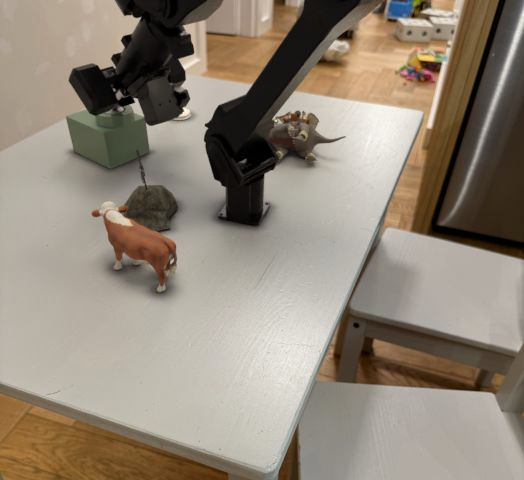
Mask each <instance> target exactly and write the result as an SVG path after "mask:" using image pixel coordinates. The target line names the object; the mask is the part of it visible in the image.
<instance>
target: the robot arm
mask: <svg viewBox="0 0 524 480" xmlns="http://www.w3.org/2000/svg"><path fill="white" fill-rule="evenodd" d="M384 1H385V0H303V5H302V11H301V13H300V14H299V17H298V18H297V19H296V21H295V22H294V24H293V25H292V27H291V28H290V30H289V31H288V32H287V34H286V36H285V37H284V38H283V40H282V41H281V43H280V44H279V46H278V47H277V48H276V50H275V52H274V53H273V54H272V56H271V57H270V58H269V60H268V61H267V63H266V65H265V66H264V67H263V68H262V70H261V72H260V73H259V74H258V76H257V77H256V79H255V80H254V81H253V84H252V85H251V86H250V88H249V89H248V90H247V92H246V93H245V94H243V95H240V96H238V97H236V98H232V99H230V100H227V101H225V102H222V103H220V104H218V105H217V107H216V108H215V110H214V112H213V115H212V117H211V119H210V120H209V121H208V122H206V123H204V127H205V128H207V129H206V130H205V132H204V135H203V142H204V144H205V145H204V148H205V153H206V156H207V159H208V163H209V167H210V170H211V173H212V177H213V179H214V180H215V181H216V182H219V184H220V185H221V186H222V187H223V188H225V204H224V206H223V207H222V208H221V209H220V211H219V212H218V213H217V217H218V218H219V219H220V220H226V221H230V222H234V223H240V224H246V225H250V226H255V227H257V226H259V225H260V224H261V223H262V220H263V219H264V217H265V216H266V215H267V212H268V211H269V209H270V208H271V203H270V202H267V201H264V200H265V199H264V197H265V195H264V194H265V174H267V173H269V172H271V171H274V170H275V169H276V167H277V166H278V165H277V164H278V162H279V160H280V159H279V158H278V156H277V154H276V152H277V151H276V150H275V148H274V146H272V145H271V144H270V142H269V140H268V139H267V138H268V136H269V134H270V131H271V122H272V120H274V118H275V116H276V115H277V114H278V112H279V111H280V110H281V109H282V107H283V106H284V105H285V104H286V103H287V101H288V100H289V99H290V98H291V96H292V95H293V94H294V92H295V91H296V90H297V89H298V88H299V86H300V85H301V84H302V82H303V81H304V80H305V79H306V77H307V76H308V75H309V74H310V72H311V71H312V70H313V69H314V67H315V66H316V65H317V64H318V63H319V62H320V60H321V58H322V57H323V55H325V53H326V52H327V51H328V50H329V49H330V47H331V46H332V45H333V43H335V41H336V40H337V39H338V38H339V37H340V36H341V35H342V34H344V33H345V32H346V31H348V30H349V29H351V28H352V27H353V26H354V25H356V24H357V23H359V22H360V21H362V20H363V19H364V18H366V17H367V16H368V15H369V14H371V13H372V12H373V11H374V10H375V9H376V8H378V7H379V6H380V5H381V4H382V3H384ZM114 2H115V4H116V5H117V7H118V8H119V10H120V12H121V13H122V15H123V16H124V17H127V16H132V17H133V18H134V19H139V21H138V23H136V26H135V27H134V30H133V31H132V33H129V34H124V35H122V37H121V38H120V43H121V44H122V46H123V49H122V51H121V52H117V53H113V54H112V55H111V57H110V60H111V62H112V63H113V65H114V66H115V67H114V66H113V65H111V66H107V67H104V68H100V66H99V65H98V64H96V63H94V62H93V63H92V62H91V63H88V64H84V65H80V66H77V67H73V68H72V69H71V72H70V74H69V76H68V83H69V84H70V86H71V87H72V89H73V90H74V92H75V94H76V95H77V97H78V99H79V100H80V101H81V103H82V104H83V106H84V107H85V110H86V109H87V110H88V112H89V113H90V114H91V115H94V116H97V115H100V114H103V113H105V112H108V111H110V110H111V109H112V110H113V111H114V110H117V109H119V108H120V107H124V106H127V105H130V106H131V105H133V104H135V103H136V100H135V99H137V101H138V104H139V107H140V110H141V112H142V114H143V117H144V119H145V122H146V125H147V126H149V127H153V126H156V125H160V124H164V123H167V122H169V121H171V120H172V119H174V118H177V117H179V115H181V114H183V112H184V109H183V107H184V108H186V107H187V105H188V104H189V102H190V100H191V97H190V93H189V90H188V89H186V88H185V87H180V86H183V85H184V83H185V82H186V80H187V75H186V74H187V73H186V70H185V67H184V66H183V65H182V63H181V61H180V59H183V58H187V57H190V56H194V54H195V46H194V43H193V42H192V34H191V33H189V32H187V29H186V28H185V26H187V25H192V24H195V23H196V24H197V23H199V22H204V21H206V20H208V19H209V18H210V17H211V16H212V15H213V14H215V12H217V10H218V9H219V8H221V6H222V4H223V2H224V0H114ZM172 121H173V120H172Z"/></svg>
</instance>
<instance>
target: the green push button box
mask: <svg viewBox="0 0 524 480" xmlns="http://www.w3.org/2000/svg"><path fill="white" fill-rule="evenodd" d="M123 108H124V112H122V113H119V114H105V113H103V114H100V115H97V116H94V115H91V114H90V113H89V112H88V110H87V109H86V108H85V109H83V110H80V111H77V112H73V113H71V114H67V115H65V120H66V124H67V128H68V133H69V136H70V141H71V144H72V149H73V153H76V154H78V155H80V156H82V157H84V158H86V159H88V160H90V161H93V162H95V163H96V164H99V165H101V166H103V167H105V168H108V169H109V170H112V169H115V168H117V167H119V166H121V165H124V164H126V163H128V162H131V161H133V160H136V159H138V156H137V153H136V148H138V150H139V154H140V157H142V156H144V155H147V154H149V153H150V143H149V136H148V126H147V123H146V122H145V119H144V115H141V114H139V113H136V112H135V110H134V107H133V106H132V105H131V104H130V105H127V106H124V107H123Z"/></svg>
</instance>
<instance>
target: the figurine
mask: <svg viewBox="0 0 524 480" xmlns="http://www.w3.org/2000/svg"><path fill="white" fill-rule="evenodd" d="M275 116H276V115H275ZM279 121H280V123H279ZM319 123H320V120H319V119H318V117H317V116H316V114H314V113H313V112H308V113H306V111H304V110H302V111H300V110H295V112H293V113H292V112H291V111H290V110H289V111H287V113H285V114H282V115H280V116H276V117H274V118H273V119H272V122H271V131H270V134H269V136H268V138H267V139H268V140H269V142H270V144H271V145H272V147H273V148H274V149H276V151H275V152H276V154H277V156H278V158H279V160H282V159H283V157H285V156H286V155H287V154H288V153H289V151H293V152H298V155H299V157H301V158H305V159H304V161H305V162H304V164H310V163H313V162H318V159H316V158H317V156H316V155H315V153H312V151H313V150H314V149H315V147H316V146H317V145H320V144H321V145H322V144H333V143H335V142H337V141H339V140H340V141H341V140H343V139H345V138H347V136H345V135H342V136H340V137H336V138H328V137H326V136H323V135H322V134H320V133H319V131H317V130H316V128H317V127H318V126H319V125H318V124H319Z"/></svg>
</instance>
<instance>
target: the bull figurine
mask: <svg viewBox="0 0 524 480" xmlns="http://www.w3.org/2000/svg"><path fill="white" fill-rule="evenodd" d="M126 211H128V207H127V206H124V205H120V206H118V207H117V205H116V204H115V203H114V202H113V201H105V202H103V203H102V205H101V206H100V209H94V210H92V211H91V216H92V217H93V218H99V217H100V216H101V217H102V218H103V224H104V227H105V230H106V232H107V239H108V240H107V241H108V242H109V244H110V245H111V246H112V247H113V251H114V259H115V264H114V265H113V270H114V271H119V270H120V269H121V270H122V269H123V264H122V260H123V259H124V258H123V255H124V254H125V255H126V256H127V257H128V258H130V259H131V260H133V261H132V264H133V266H138V265H141V264H142V263H145V264H146V265H149V264H150V266H151V267H152V268H153V270H154V271H155V274H156V275H157V278H158V281H159V284H158V286H157V288H156V292H157V293H162V292H164V291H165V290H166V281H167V279H168V276H169V275H171V276H174V275H175V274H176V271H177V269H178V268H177V267H178V264H177V261H178V256H177V244H176V243H175V241H174V240H173V239H171V238H169V237H167V236H165V235H163V233H162V234H161V232H160V231H152V230H150V229H148V228H146V227H144V226H142V225H139V224H138V223H136V222H135V221H134V220H132V219H129V218H126V217H124V212H126ZM122 213H123V214H122ZM172 260H173V261H172ZM171 261H172V263H171Z"/></svg>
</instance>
